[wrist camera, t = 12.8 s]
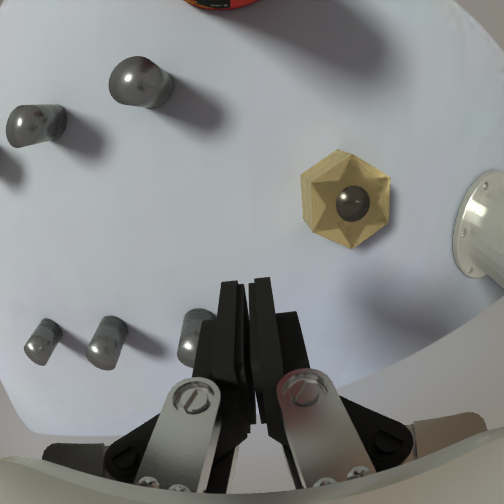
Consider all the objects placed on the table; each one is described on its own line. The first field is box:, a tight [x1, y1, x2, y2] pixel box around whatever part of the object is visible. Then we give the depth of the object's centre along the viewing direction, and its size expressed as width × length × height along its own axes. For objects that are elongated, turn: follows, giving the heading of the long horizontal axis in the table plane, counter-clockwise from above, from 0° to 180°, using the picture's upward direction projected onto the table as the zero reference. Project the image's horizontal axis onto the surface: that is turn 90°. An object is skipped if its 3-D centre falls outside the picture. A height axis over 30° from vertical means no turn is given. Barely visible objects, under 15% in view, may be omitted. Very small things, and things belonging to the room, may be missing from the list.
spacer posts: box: [6, 56, 215, 370], centre depth 19 cm, size 21×23×4 cm
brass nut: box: [300, 150, 390, 249], centre depth 20 cm, size 7×6×3 cm
